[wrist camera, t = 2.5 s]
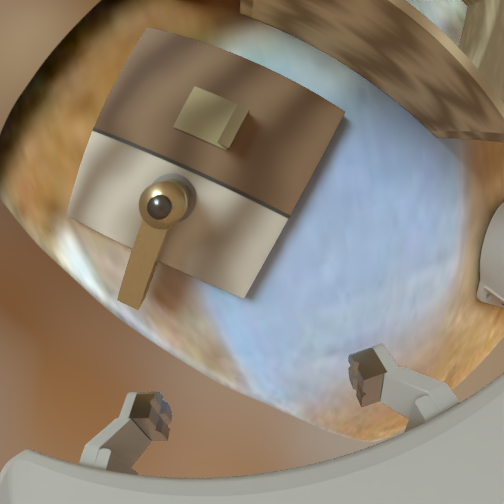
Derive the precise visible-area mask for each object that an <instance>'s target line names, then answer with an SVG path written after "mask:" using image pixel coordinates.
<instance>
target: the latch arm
mask: <svg viewBox="0 0 504 504" xmlns="http://www.w3.org/2000/svg"><path fill="white" fill-rule="evenodd" d="M189 206H190V193H189V191H188V189H187V187H186V186H185V185H184V184H183V183H182V182H180V181H178V180H176V179H165V180H162V181H159V182H157V183H154V184H152V185H150V186H148V187H147V188H146V189H145V190H144V191H143V192H142V194H141V196H140V199H139V212H140V215H141V217H142V219H143V220H142V223H141V225H140V228H139V231H138V234H137V237H136V240H135V243H134V246H133V249H132V252H131V255H130V258H129V261H128V264H127V268H126V271H125V274H124V278H123V281H122V285H121V288H120V292H119V295H118V299H117V300H118V301H120V302H122V303H124V304H127V305H129V306H131V307H133V308H135V309H137V310H138V309H139V308H140V306H141V304H142V302H143V301H144V299H145V297H146V294H147V291H148V288H149V285H150V283H151V280H152V277H153V274H154V272H155V269H156V266H157V264H158V261H159V258H160V256H161V253H162V251H163V248H164V245H165V243H166V240H167V238H168V235H169V233H170V230H171V228H172V227H173V226H174V225H175V224H177V223H178V222H179V220H180V219H181V218H182V217H183V216H184V214H185V213H186V212H187V210H188V209H189Z"/></svg>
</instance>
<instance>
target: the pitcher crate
mask: <svg viewBox="0 0 504 504" xmlns="http://www.w3.org/2000/svg"><path fill="white" fill-rule="evenodd" d="M463 1H464V2H465V3H466V4H467V5H468V9H467V14H466V19H465V24H464V28H463V33H462V37H461V41H460V45H459V48H458V47H457V46H456V45H455V43H454V42H453V41H452V40H451V39H450V38H449V37H447V36H446V35H445V34H444V33H443V32H442V31H441V30H440V29H439V28H438V27H437V26H436V25H435V24H434V23H432V22H431V21H430V20H429V19H428V18H427V17H425V16H424V15H423V14H422V13H421V12H419V11H418V10H417V9H416V8H414V7H413V6H412V5H411V4H409V3H408V2H407V1H405V0H240V14H243V15H246V16H248V17H251V18H254V19H256V20H259V21H261V22H264V23H266V24H268V25H271V26H273V27H275V28H278V29H280V30H282V31H284V32H286V33H289V34H291V35H293V36H295V37H297V38H299V39H301V40H303V41H305V42H307V43H309V44H310V45H312V46H314V47H316V48H318V49H320V50H321V51H323V52H325V53H327V54H328V55H330V56H332V57H333V58H335V59H337V60H338V61H340V62H342V63H343V64H345V65H346V66H348V67H350V68H351V69H353V70H354V71H356V72H357V73H359V74H360V75H362V76H363V77H364V78H366V79H367V80H369V81H370V82H372V83H373V84H374V85H376V86H377V87H378V88H380V89H381V90H382V91H384V92H385V93H386V94H388V95H389V96H390V97H391V98H393V99H394V100H395V101H396V102H398V103H399V104H400V105H401V106H403V107H404V108H405V109H406V110H407V111H408V112H410V113H411V114H412V115H413V116H414V117H415V118H416V119H418V120H419V121H420V122H421V123H422V124H423V125H424V126H425V127H426V128H427V129H428V130H429V131H430V132H432V133H433V134H434V135H435V136H436V137H437V138H459V139H475V140H487V141H497V142H504V0H463Z"/></svg>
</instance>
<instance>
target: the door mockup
mask: <svg viewBox="0 0 504 504" xmlns="http://www.w3.org/2000/svg"><path fill="white" fill-rule="evenodd" d="M344 114H345V111H343V110H342V109H340V108H339V107H337V106H336V105H334V104H332V103H331V102H329V101H327V100H326V99H324V98H322V97H321V96H319V95H317V94H316V93H314V92H312V91H310V90H309V89H307V88H305V87H303V86H301V85H300V84H298V83H296V82H294V81H292V80H290V79H288V78H286V77H284V76H282V75H280V74H278V73H276V72H274V71H272V70H270V69H268V68H266V67H264V66H261V65H259V64H257V63H255V62H252V61H250V60H248V59H245V58H243V57H241V56H238V55H236V54H233V53H231V52H228V51H225V50H223V49H220V48H217V47H215V46H212V45H209V44H206V43H203V42H200V41H197V40H194V39H191V38H187V37H184V36H181V35H177V34H174V33H170V32H166V31H162V30H158V29H154V28H149V27H147V28H146V30H145V31H144V33H143V34H142V36H141V38H140V39H139V41H138V42H137V44H136V45H135V47H134V49H133V50H132V52H131V54H130V55H129V57H128V59H127V61H126V62H125V64H124V66H123V68H122V70H121V71H120V73H119V75H118V77H117V79H116V81H115V83H114V85H113V87H112V89H111V91H110V93H109V95H108V97H107V99H106V101H105V103H104V106H103V108H102V110H101V112H100V115H99V117H98V119H97V122H96V124H95V126H94V128H93V130H92V134H91V137H90V139H89V142H88V145H87V147H86V150H85V153H84V156H83V159H82V162H81V165H80V168H79V171H78V174H77V178H76V181H75V184H74V188H73V191H72V195H71V199H70V203H69V207H68V211H67V216H68V217H70V218H72V219H74V220H76V221H78V222H80V223H82V224H84V225H86V226H88V227H90V228H91V229H93V230H95V231H97V232H99V233H101V234H103V235H105V236H107V237H109V238H111V239H113V240H115V241H117V242H119V243H121V244H124V245H126V246H128V247H130V248H132V249H133V246H134V243H135V240H136V237H137V234H138V231H139V228H140V225H141V223H142V220H143V219H142V217H141V215H140V212H139V199H140V196H141V194H142V192H143V191H144V190H145V189H146V188H147V187H148V186H150V185H152V184H154V183H157V182H159V181H162V180H165V179H176V180H178V181H180V182H182V183H183V184H184V185H185V186H186V187H187V189H188V191H189V193H190V206H189V209H188V210H187V212H186V213H185V214H184V216H183V217H182V218H181V219H180V220H179V222H178V223H177V224H175V225H174V226H173V227H172V228H171V230H170V233H169V235H168V238H167V240H166V243H165V245H164V248H163V251H162V253H161V256H160V258H159V262H161V263H164V264H166V265H168V266H170V267H172V268H175V269H177V270H179V271H181V272H183V273H186V274H188V275H190V276H192V277H195V278H197V279H199V280H201V281H204V282H206V283H208V284H211V285H213V286H215V287H218V288H220V289H222V290H225V291H227V292H229V293H232V294H234V295H236V296H239V297H241V298H244V297H245V296H246V294H247V292H248V290H249V289H250V287H251V285H252V283H253V281H254V280H255V278H256V276H257V274H258V272H259V271H260V269H261V267H262V265H263V264H264V262H265V260H266V258H267V256H268V255H269V253H270V251H271V249H272V247H273V246H274V244H275V242H276V240H277V238H278V236H279V235H280V233H281V231H282V229H283V227H284V226H285V224H286V222H287V220H288V219H289V217H290V215H291V213H292V211H293V209H294V207H295V205H296V204H297V202H298V200H299V198H300V196H301V194H302V193H303V191H304V189H305V187H306V185H307V183H308V181H309V180H310V178H311V176H312V174H313V172H314V170H315V168H316V167H317V165H318V163H319V161H320V159H321V157H322V155H323V153H324V152H325V150H326V148H327V146H328V144H329V142H330V140H331V138H332V136H333V135H334V133H335V131H336V129H337V127H338V125H339V123H340V121H341V119H342V117H343V115H344Z"/></svg>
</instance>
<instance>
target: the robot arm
mask: <svg viewBox="0 0 504 504" xmlns="http://www.w3.org/2000/svg"><path fill="white" fill-rule="evenodd" d="M477 299H478V300H479V301H481V302H484V303H487V304H491V305H494V306H498V307H501V308H504V202H503V203H502V204H501V205H500V206H499V207H498V209H497V210H496V212H495V214H494V215H493V217H492V219H491V221H490V224H489V226H488V229H487V232H486V235H485V238H484V242H483V246H482V251H481V258H480V283H479V287H478V291H477ZM348 362H349V364H350V367H349V378H350V382H351V385H352V387H353V389H355V390H357V394H356V396H357V398H358V401H359V403H360V405H361V407H363V406H367V405H370V404H372V403H375V402H378V401H380V402H381V403H383V404H385V405H386V406H388V407H389V408H391V409H393V410H394V411H396V412H398V413H399V414H401V415H403V416H404V417H406V418H407V419H409V422H408V424H407V427H406V430H405V432H404V433H402V434H400V435H398V436H396V437H393V438H391V439H388V440H386V441H383V442H381V443H379V444H376V445H373V446H371V447H368V448H365V449H362V450H359V451H356V452H353V453H350V454H347V455H344V456H340V457H337V458H333V459H330V460H326V461H322V462H318V463H314V464H310V465H306V466H301V467H297V468H292V469H286V470H280V471H274V472H268V473H261V474H253V475H244V476H232V477H217V478H171V477H170V478H169V477H155V476H154V477H153V476H144V475H139V474H138V473H137V472H136V471H134V470H133V469H132V468H131V467H132V466H133V464H134V463H135V462H136V461H137V459H138V458H139V457H140V456H141V454H142V453H143V452H144V451H145V449H146V448H147V447H148V446H149V444H150V443H151V442H152V441H166V440H168V437H169V431H170V429H169V427H168V424H169V423H170V422H171V420H172V411H171V408H170V406H169V404H168V403H167V402H165V401H164V400H163V396H162V394H161V393H160V392H130V393H128V394H127V397H126V399H125V402H124V405H123V408H122V410H121V413H120V416H119V418H116V419H115V420H114V421H112V422H111V423H110V424H109V425H108V426H107V427H106V428H104V429H103V430H102V431H101V432H100V433H99V434H98V435H96V436H95V437H94V438H93V439H92V440H91V441H89V442H88V443H87V444H86V445H85V447H84V451H83V453H82V456H81V459H80V461H79V464H76V463H71V462H68V461H64V460H61V459H58V458H55V457H51V456H48V455H45V454H42V453H39V452H37V451H34V450H31V449H26V450H24V451H23V452H21V453H19V454H18V455H16V456H15V457H13V458H12V459H11V460H9V461H8V462H7V463H6V465H5V466H4V468H3V469H2V471H1V473H0V504H504V372H503V373H502V374H501V375H499V376H498V377H497V378H496V379H494V380H493V381H492V382H490V383H489V384H487V385H486V386H485V387H483V388H482V389H481V390H479V391H478V392H476V393H475V394H473V395H472V396H470V397H469V398H467V399H465V400H464V401H462V402H461V403H460V402H459V400H458V399H457V397H456V396H455V395H454V393H453V392H452V390H451V389H450V388H449V386H448V385H447V384H446V383H444V382H441V381H439V380H436V379H433V378H431V377H428V376H426V375H423V374H421V373H418V372H415V371H413V370H410V369H408V368H405V367H403V366H402V367H399V366H398V365H397V363H396V362H395V360H394V359H393V357H392V356H391V354H390V353H389V351H388V350H387V348H386V347H385V345H384V344H379V345H376V346H373V347H371V348H368V349H365V350H362V351H359V352H356V353H353V354H350V355H349V357H348Z"/></svg>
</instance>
